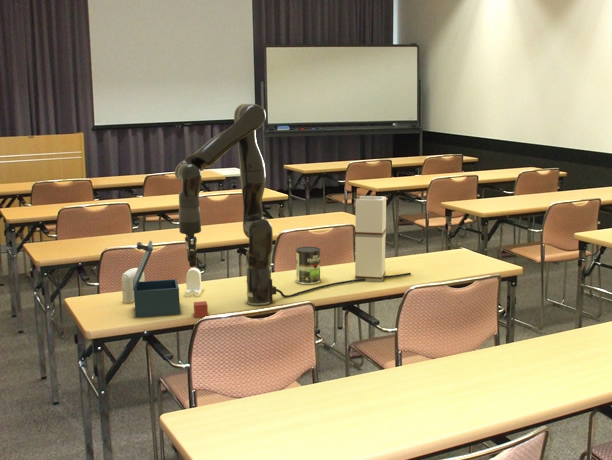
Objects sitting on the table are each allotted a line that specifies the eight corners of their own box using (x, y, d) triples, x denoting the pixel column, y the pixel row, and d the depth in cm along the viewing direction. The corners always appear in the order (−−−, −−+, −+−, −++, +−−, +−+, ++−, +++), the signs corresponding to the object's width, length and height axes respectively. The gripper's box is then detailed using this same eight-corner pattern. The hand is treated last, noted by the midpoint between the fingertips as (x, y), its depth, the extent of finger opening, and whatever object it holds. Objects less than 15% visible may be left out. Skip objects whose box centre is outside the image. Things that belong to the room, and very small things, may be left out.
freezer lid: (151, 241, 281) (138, 236, 279) (153, 248, 268) (139, 243, 266) (134, 281, 282) (121, 276, 280) (135, 290, 269) (121, 285, 267)
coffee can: (325, 281, 320) (325, 249, 317) (306, 286, 313) (305, 252, 311) (310, 277, 328) (310, 245, 325) (291, 281, 321) (290, 248, 318)
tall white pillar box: (385, 275, 331) (386, 196, 324) (381, 281, 320) (382, 200, 313) (359, 274, 333) (360, 195, 326) (355, 280, 322) (355, 199, 315)
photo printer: (130, 304, 287) (128, 272, 285) (121, 302, 289) (119, 271, 287) (147, 296, 297) (145, 266, 294) (138, 295, 298) (136, 265, 296)
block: (206, 312, 277) (206, 301, 276) (207, 316, 273) (207, 304, 272) (194, 313, 276) (193, 302, 275) (195, 317, 271) (194, 305, 270)
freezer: (177, 303, 288) (176, 279, 286) (180, 314, 275) (178, 288, 273) (135, 307, 283) (133, 281, 281) (135, 318, 271) (133, 291, 269)
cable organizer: (202, 289, 307) (201, 265, 305) (199, 296, 298) (198, 272, 296) (189, 289, 307) (188, 266, 305) (185, 296, 297) (184, 272, 295)
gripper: (202, 222, 262) (204, 267, 265) (198, 215, 275) (200, 258, 279) (180, 223, 260) (182, 269, 263) (177, 216, 273) (179, 260, 276)
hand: (191, 263), depth 271 cm, fingers open, 8 cm apart
